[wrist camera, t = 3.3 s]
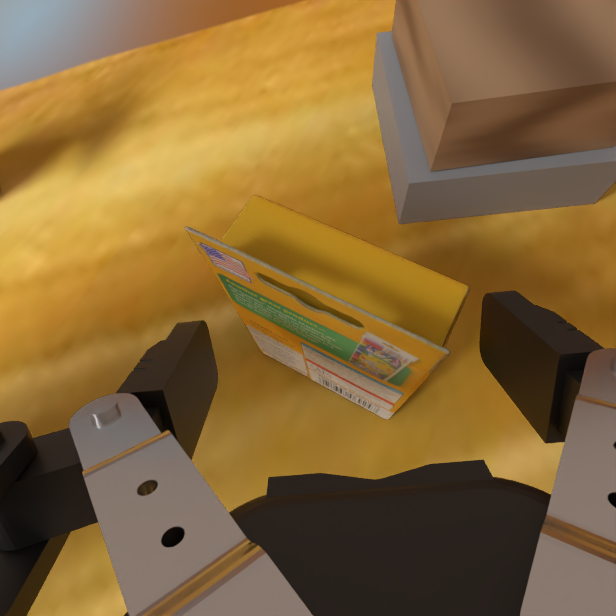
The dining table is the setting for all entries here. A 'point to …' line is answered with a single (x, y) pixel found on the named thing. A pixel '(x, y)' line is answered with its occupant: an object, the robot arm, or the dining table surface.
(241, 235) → the crayon box
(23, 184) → the dining table surface
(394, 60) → the tower base block
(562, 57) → the tower top block
